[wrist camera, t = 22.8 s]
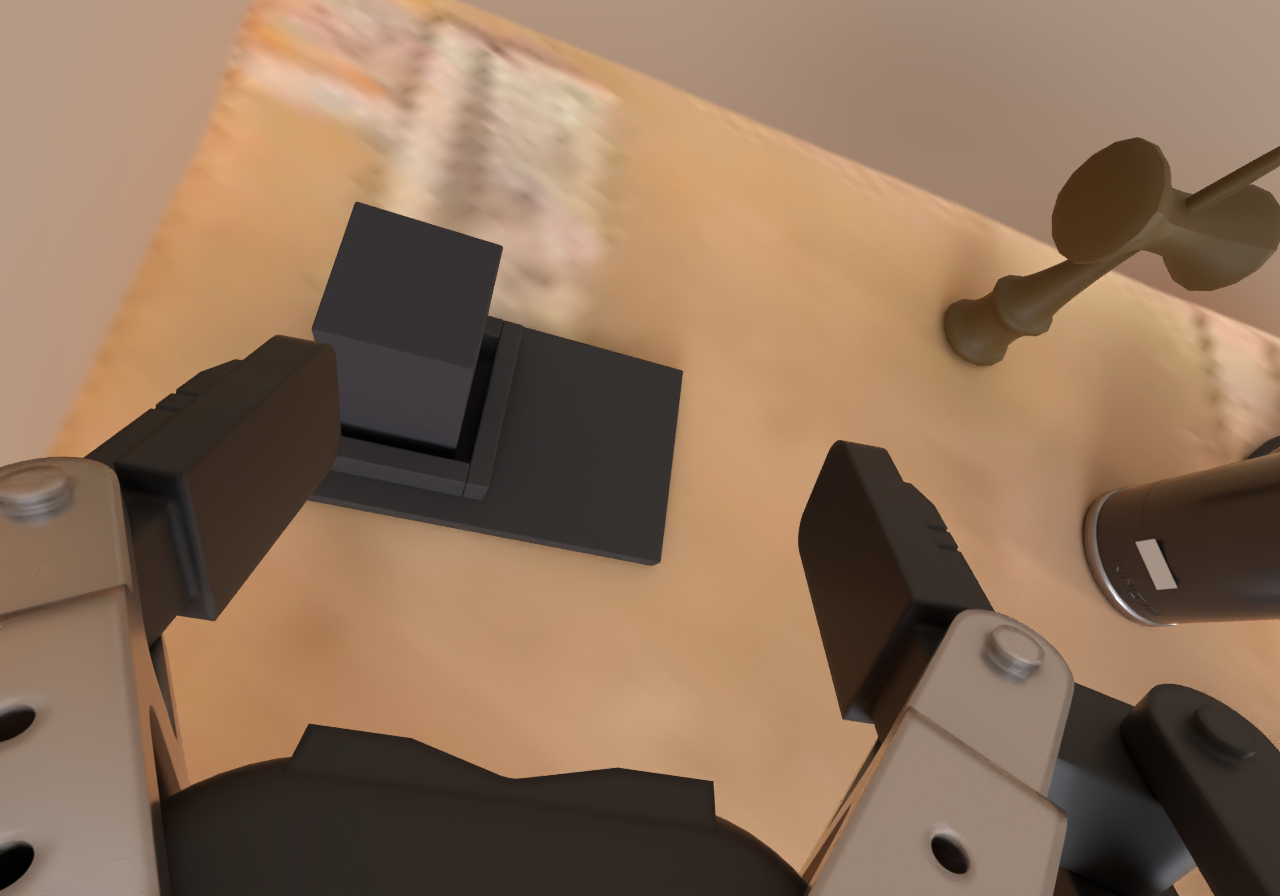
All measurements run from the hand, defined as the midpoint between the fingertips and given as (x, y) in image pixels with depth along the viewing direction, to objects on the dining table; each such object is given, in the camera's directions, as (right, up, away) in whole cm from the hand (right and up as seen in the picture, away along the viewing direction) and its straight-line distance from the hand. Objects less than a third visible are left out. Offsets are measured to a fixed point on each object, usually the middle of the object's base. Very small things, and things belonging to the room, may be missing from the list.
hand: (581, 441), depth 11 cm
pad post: (-10, +2, +21) cm, 23 cm away
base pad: (-6, +1, +23) cm, 24 cm away
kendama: (+24, +8, +36) cm, 44 cm away
